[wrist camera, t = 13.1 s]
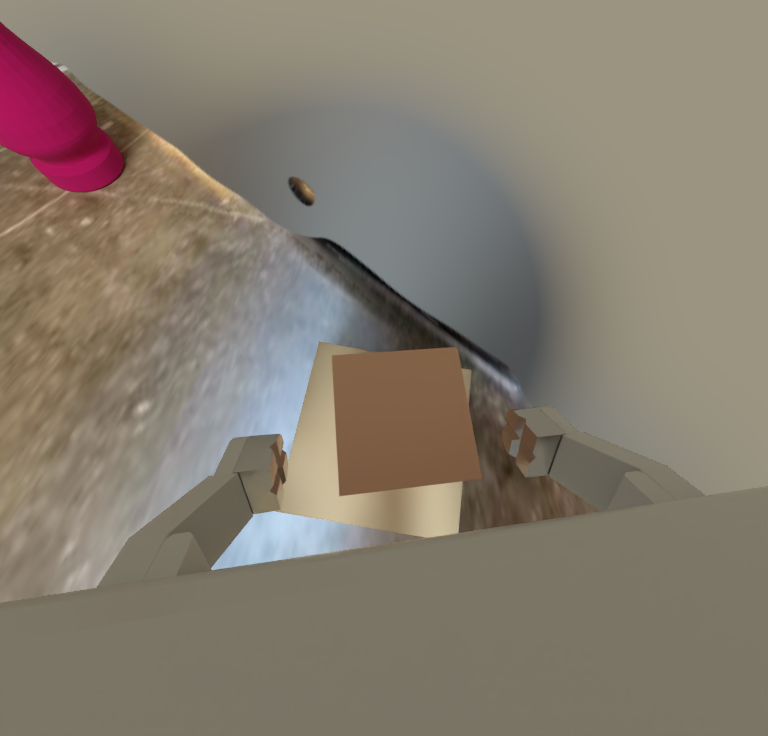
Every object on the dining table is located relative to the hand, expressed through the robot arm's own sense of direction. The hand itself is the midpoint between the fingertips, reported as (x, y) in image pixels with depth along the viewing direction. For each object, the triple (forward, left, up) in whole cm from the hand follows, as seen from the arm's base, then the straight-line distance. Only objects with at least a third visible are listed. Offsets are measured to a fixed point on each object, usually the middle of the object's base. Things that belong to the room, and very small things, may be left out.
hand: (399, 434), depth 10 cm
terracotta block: (0, +1, -7) cm, 7 cm away
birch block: (0, +1, -12) cm, 12 cm away
